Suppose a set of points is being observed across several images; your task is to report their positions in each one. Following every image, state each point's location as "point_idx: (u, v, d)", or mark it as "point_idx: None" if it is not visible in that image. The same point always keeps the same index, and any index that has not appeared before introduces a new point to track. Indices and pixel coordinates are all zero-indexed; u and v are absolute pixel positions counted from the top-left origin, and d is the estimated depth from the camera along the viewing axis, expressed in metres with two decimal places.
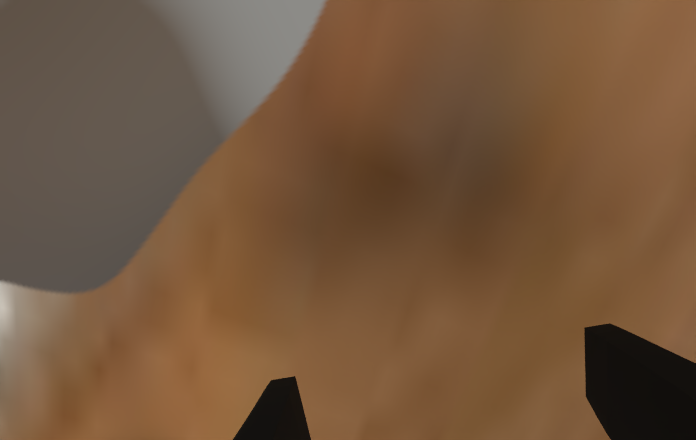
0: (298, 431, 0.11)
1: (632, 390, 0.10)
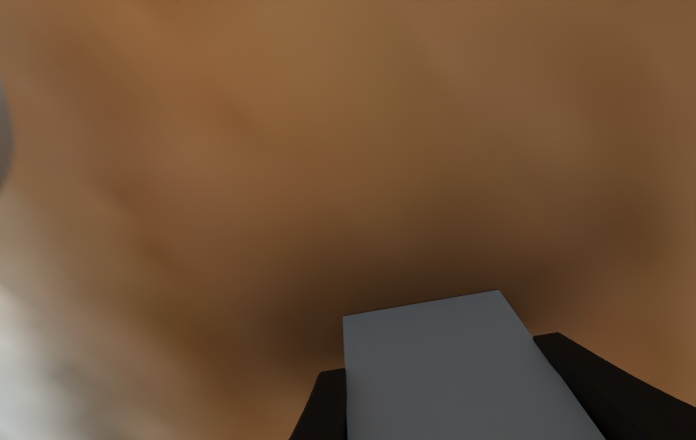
0: None
1: None
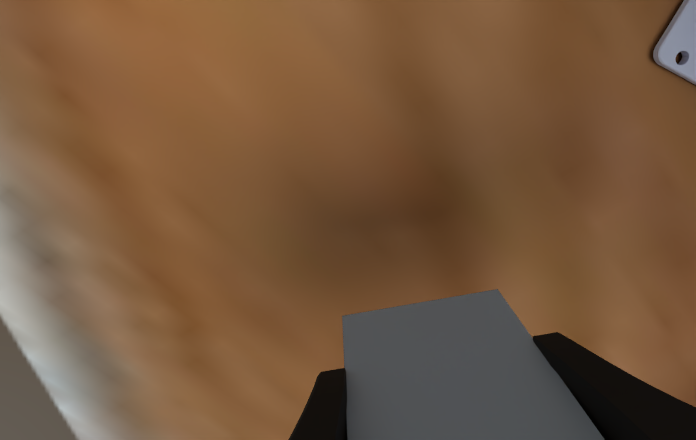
0: None
1: None
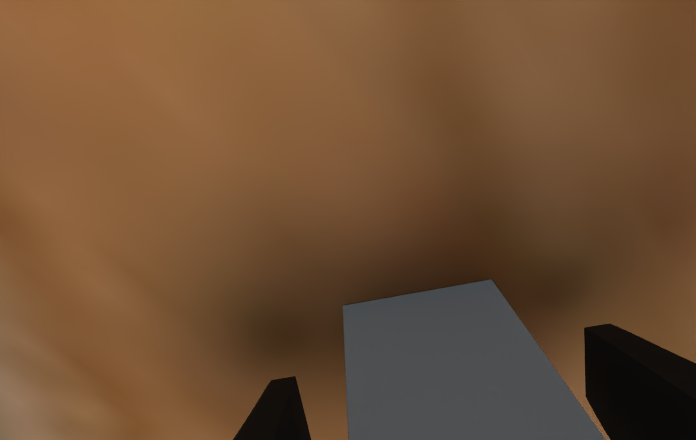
0: (298, 431, 0.11)
1: (632, 390, 0.10)
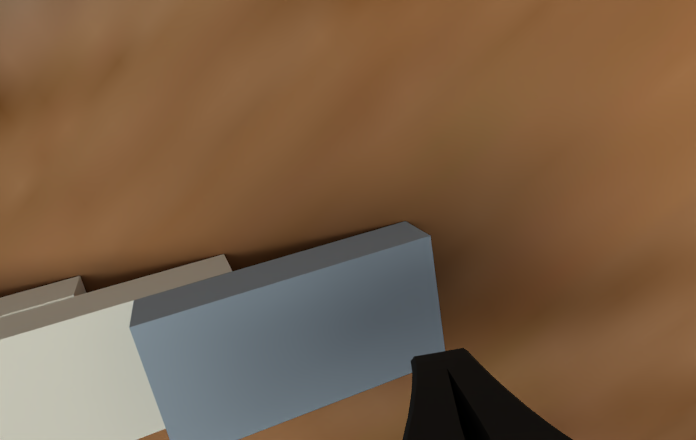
0: None
1: (463, 418, 0.10)
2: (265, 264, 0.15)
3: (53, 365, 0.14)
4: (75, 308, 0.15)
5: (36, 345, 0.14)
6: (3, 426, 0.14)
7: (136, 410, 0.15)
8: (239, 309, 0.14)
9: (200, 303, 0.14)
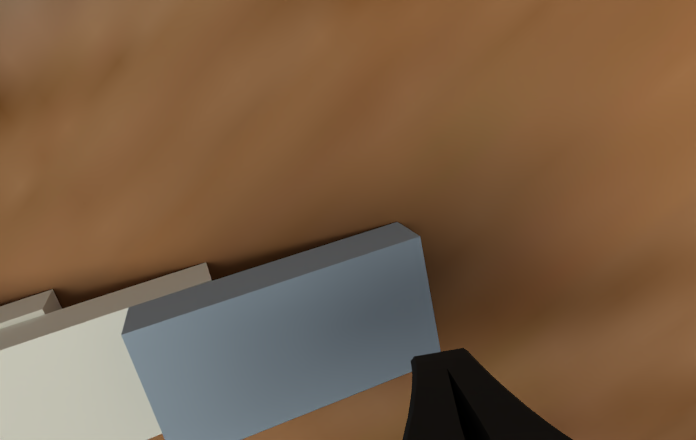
0: None
1: (463, 418, 0.10)
2: (256, 269, 0.16)
3: (37, 379, 0.14)
4: (57, 322, 0.15)
5: (19, 360, 0.14)
6: None
7: (123, 420, 0.16)
8: (229, 314, 0.14)
9: (191, 309, 0.14)
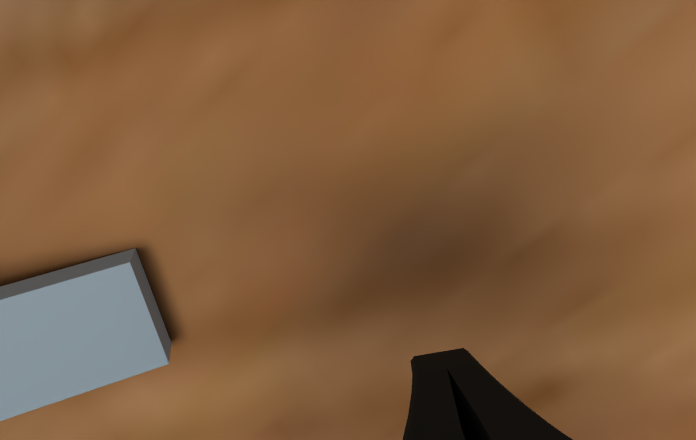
0: None
1: (463, 418, 0.10)
2: (1, 287, 0.19)
3: None
4: None
5: None
6: None
7: None
8: None
9: None
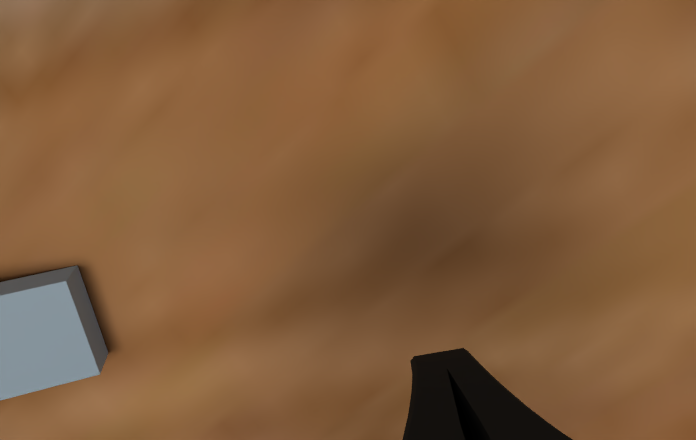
0: None
1: (462, 418, 0.10)
2: None
3: None
4: None
5: None
6: None
7: None
8: None
9: None
